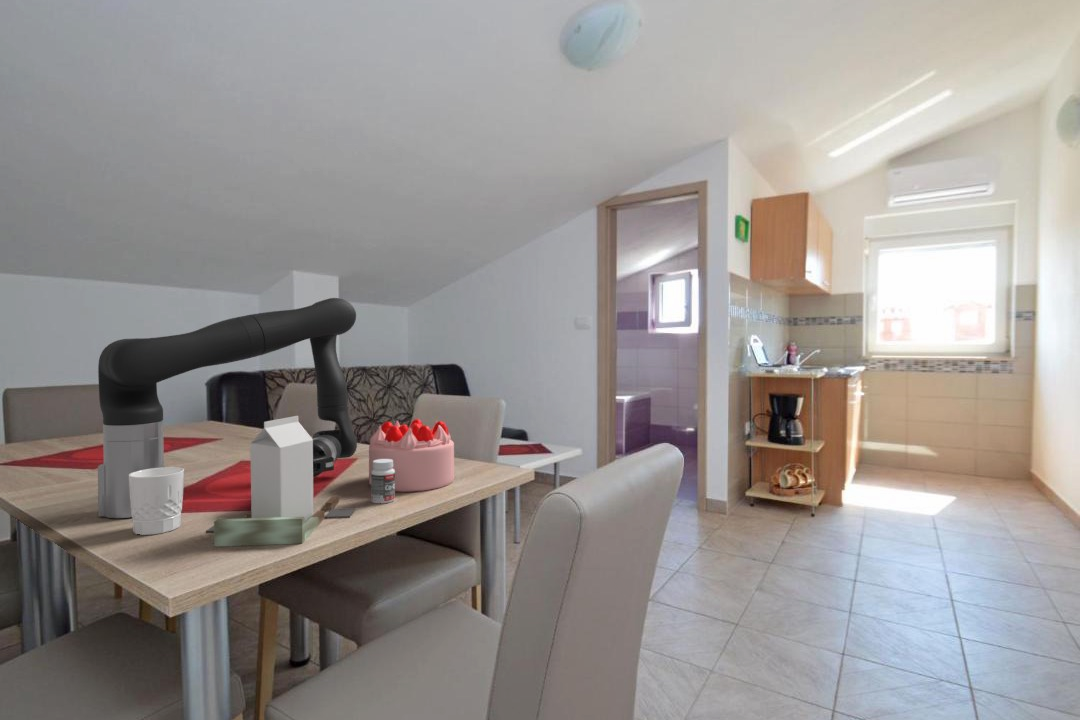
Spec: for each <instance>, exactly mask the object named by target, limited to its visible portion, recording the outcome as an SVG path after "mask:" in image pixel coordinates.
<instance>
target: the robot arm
mask: <svg viewBox="0 0 1080 720" xmlns="http://www.w3.org/2000/svg"><path fill="white" fill-rule="evenodd" d="M356 319H357V311H356V309H355V307H354V306H353V305H352V304H351V303H350V302H348V301H347V300H345V299H343V298H338V297H330V298H325V299H323V300H319V301H317V302H315V303H313V304H310V305H307V306H305V307H300V308H294V309H285V310H284V309H283V310H277V311H276V310H274V311H267V312H258V313H253V314H247V315H242V316H238V317H237V316H236V317H232V318H231V317H230V318H228V319H225V320H221V321H217V322H214V323H212V324H209V325H206V326H204V327H202V328H199V329H197V330H193V331H190V332H186V333H181V334H175V335H173V334H172V335H166V336H157V337H149V338H148V337H147V338H146V337H145V338H142V337H141V338H139V337H138V338H123V339H118V340H115V341H113V342H110V343H109V344H108V345H107V346H105V347H104V349H103V350H102V351H101V353H100V355H99V358H98V364H97V365H98V368H97V369H98V371H97V373H98V378H97V379H98V399H99V400H98V401H99V407H100V411H101V413H102V414H101V415H102V432H103V433H102V437H103V439H102V440H103V447H102V448H103V463H102V464H98V466H97V496H98V497H97V499H98V501H97V502H98V503H97V505H98V506H97V508H98V511H97V513H98V515H97V516H98V517H105V518H108V519H127V518H128V519H129V518H132V515H131V505H130V491H129V476H128V475H129V474H130V473H133V472H136V471H140V470H145V469H152V468H162V467H164V466H165V465H164V462H165V461H164V457H165V456H164V453H165V451H164V450H165V449H164V447H165V445H164V408H163V406H162V404H161V402H160V399H159V397H158V387H157V385H158V384H157V383H160V382H162V381H164V380H168V379H171V378H173V377H176V376H180V375H181V374H184V373H188V372H191V371H193V370H196V369H197V370H198V369H201V368H206V367H211V366H212V367H213V366H218V365H225V364H230V363H235V362H238V361H239V362H240V361H243V360H248V359H251V358H256V357H259V356H263V355H266V354H270V353H273V352H275V351H278V350H281V349H284V348H287V347H290V346H292V345H294V344H295V345H296V343H300V342H303V341H305V340H306V341H307V340H309V341H310V346H311V352H312V358H313V364H314V365H313V366H314V370H315V372H314V373H315V379H316V402H317V403H316V405H317V417H318V418H319V420H321V421H325V422H333V423H335V424H336V425H337V426H338V428H339V429H329V430H320V431H316V432H315V433H314V434H313V435H312V437H311V438H312V439H313V478H316V477H317V476H320V475H321V474H322V473H325V472H330V471H334V470H335V462H336V461H337V460H338V459H346V458H351V457H353V456H354V454H355V453H356V452H357V448H358V441H357V437H356V435H355V431H354V429H353V426H352V422H351V419H350V415H349V407H348V406H349V404H348V403H349V402H348V387H347V382H346V378H345V375H344V372H343V370H342V367H341V365H340V362H339V358H338V354H337V336H340V335H343V334H345V333H347V332H349V331H350V330H351V329H352V328H353V326H354V325H355V322H356Z"/></svg>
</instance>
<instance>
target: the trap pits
mask: <svg viewBox="0 0 1080 720" xmlns="http://www.w3.org/2000/svg"><path fill="white" fill-rule="evenodd" d="M355 511H356V507H353V508H352V507H350V508H348V507H347V508H333V509H331V510H330V511H328V512H327V514H325V519H345V518H346V519H347V518H351V517H350V516H353V514H354V513H355ZM205 533H211V534H212V533H213V534H214V525H213V526H211V527H209V528H208V529H207V530H205Z"/></svg>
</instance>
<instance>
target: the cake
mask: <svg viewBox="0 0 1080 720" xmlns="http://www.w3.org/2000/svg"><path fill="white" fill-rule="evenodd" d="M369 443H370V445H369V446H368V484H369V485H370V486H371V472H372V470H374V468H373V461H374V460H378V459H392V460H393V467H392V468H393V469H394V470H395V493H397V492H400V493H402V492H403V493H407V492H408V493H410V492H422V491H423V492H425V491H430V490H436V489H440V488H443V487H446V486H448V485H450V484H451V483H452V482H453V480H455V479H454V478H455V442H454V441H453V440H452V439H451V434H450V431H449V429H448V427H447V424H446V423H445V422H444V421H441V420H439V421H438V420H435V422H434V424H433V426H432V428H431V429H430V426H428V425H426V424H423V422H422V420H420V419H418V418H416V419H413V420H412V421H411V423H410V424H409V427H408V425H407V424H400V422H399V420H396V422H395V423H394V425H393V423H392V422H391V421H385V422H383V423H382V424H381V425H379V426H378V429H377V430H376V431H375V432H374V433H373V435H371V436H370V438H369Z"/></svg>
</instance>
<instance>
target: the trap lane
mask: <svg viewBox="0 0 1080 720" xmlns="http://www.w3.org/2000/svg"><path fill="white" fill-rule="evenodd" d="M339 498H340V495H338V494H336V495H331V497H330V498H328V500H327V501H325V503H324V504H325V505H324V506H325V507H324V509H325V510H322V509H321V510H317V511H316V512H314V513H313V516H312V517H311V518H310V519H309V520H308V521H307V522H306V523H305V517H272V518H252V511H251V510H250V511H248V512H247V513H246V514H245V517H244V518H243V517H242V518H240V517H239V518H219V519H218V518H217V519H216V520H215V521H213V526H214V532H213V540H214V543H213V546H214V547H236V546H237V547H238V546H242V545H243V546H264V545H265V546H266V545H269V546H270V545H291V544H292V545H293V544H303V543H304V542H305V541H306V540H307V539H308V538H309V537H310V535H312V533H313V532H314V531H315V529H317V528H318V527H319V525H320V524H321V523H322V522H323V521H324V520H325V519H326V518H325V516H326V514H325V513H326V512H325V511H328V512H329V511H330V510H331V509H335V508H336V506H337V505H338V504H339V501H340V499H339Z"/></svg>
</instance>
